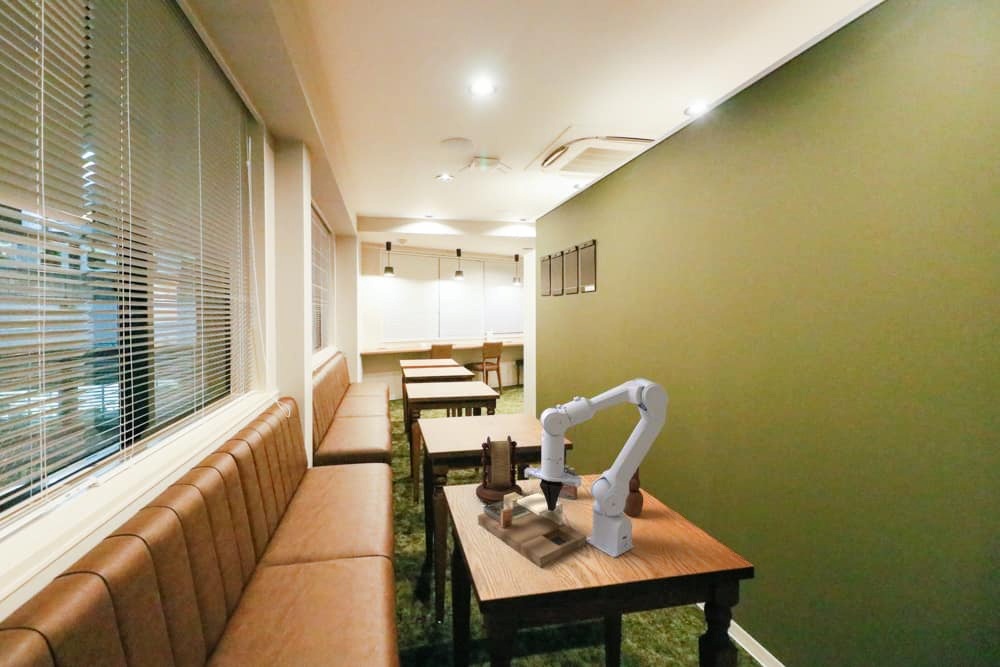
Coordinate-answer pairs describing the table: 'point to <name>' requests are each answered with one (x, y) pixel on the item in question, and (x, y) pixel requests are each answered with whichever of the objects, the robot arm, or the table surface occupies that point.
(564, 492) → the lighter
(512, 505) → the block
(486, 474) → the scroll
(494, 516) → the carriage
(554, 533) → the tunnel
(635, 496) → the wooden figurine
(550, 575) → the table surface
